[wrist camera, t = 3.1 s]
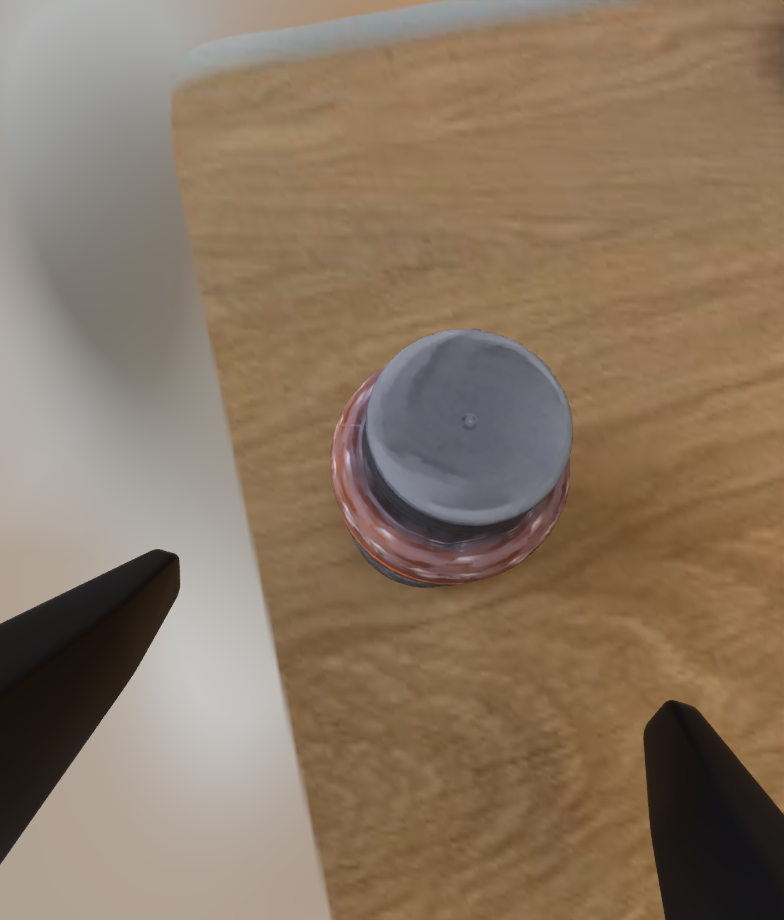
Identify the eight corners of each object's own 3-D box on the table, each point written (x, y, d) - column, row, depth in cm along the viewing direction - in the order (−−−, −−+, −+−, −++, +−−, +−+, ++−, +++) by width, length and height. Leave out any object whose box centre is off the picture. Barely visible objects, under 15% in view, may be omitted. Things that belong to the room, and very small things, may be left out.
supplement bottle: (491, 594, 19) (633, 606, 8) (341, 579, 19) (287, 571, 8) (498, 449, 21) (625, 297, 10) (358, 435, 21) (331, 269, 10)
